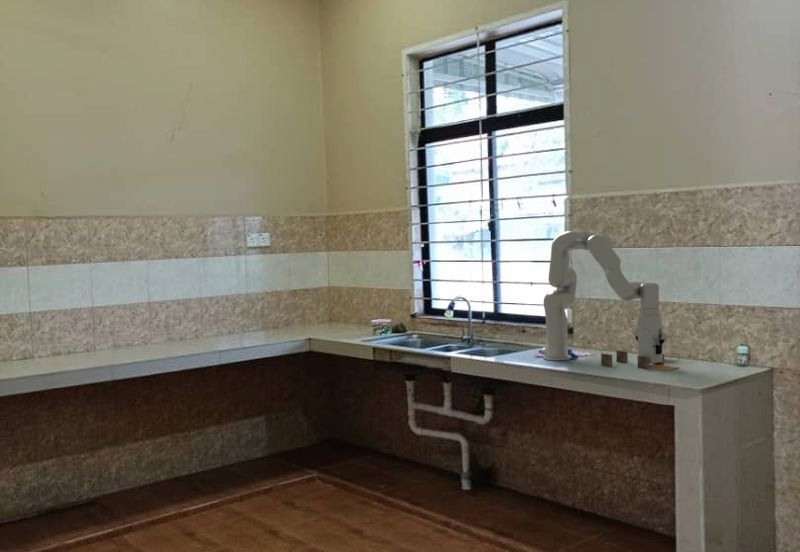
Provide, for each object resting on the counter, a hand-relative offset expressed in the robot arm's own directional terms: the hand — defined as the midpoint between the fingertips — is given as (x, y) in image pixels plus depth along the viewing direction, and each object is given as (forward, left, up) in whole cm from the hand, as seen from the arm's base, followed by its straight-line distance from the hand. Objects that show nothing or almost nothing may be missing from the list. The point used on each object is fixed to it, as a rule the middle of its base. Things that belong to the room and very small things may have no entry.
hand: (650, 352), depth 324 cm
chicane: (-7, -2, -6) cm, 10 cm away
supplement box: (0, 0, -4) cm, 4 cm away
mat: (+6, 0, -6) cm, 9 cm away
